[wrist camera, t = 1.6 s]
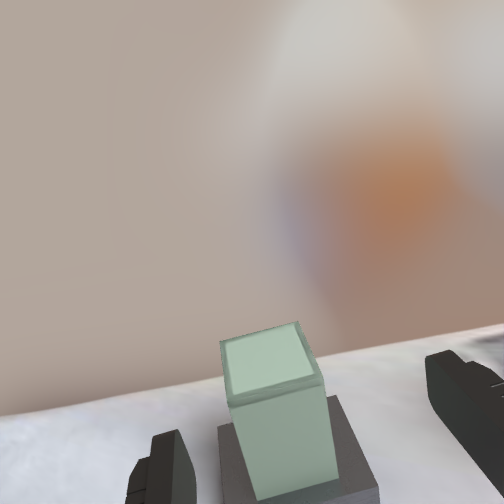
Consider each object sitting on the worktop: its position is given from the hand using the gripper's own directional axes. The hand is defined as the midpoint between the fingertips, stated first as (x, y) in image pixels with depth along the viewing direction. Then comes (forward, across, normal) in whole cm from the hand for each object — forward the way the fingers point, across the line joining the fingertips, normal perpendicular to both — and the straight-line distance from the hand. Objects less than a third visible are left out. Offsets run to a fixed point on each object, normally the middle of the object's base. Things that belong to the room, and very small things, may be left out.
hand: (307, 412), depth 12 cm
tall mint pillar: (+12, +1, +15) cm, 19 cm away
